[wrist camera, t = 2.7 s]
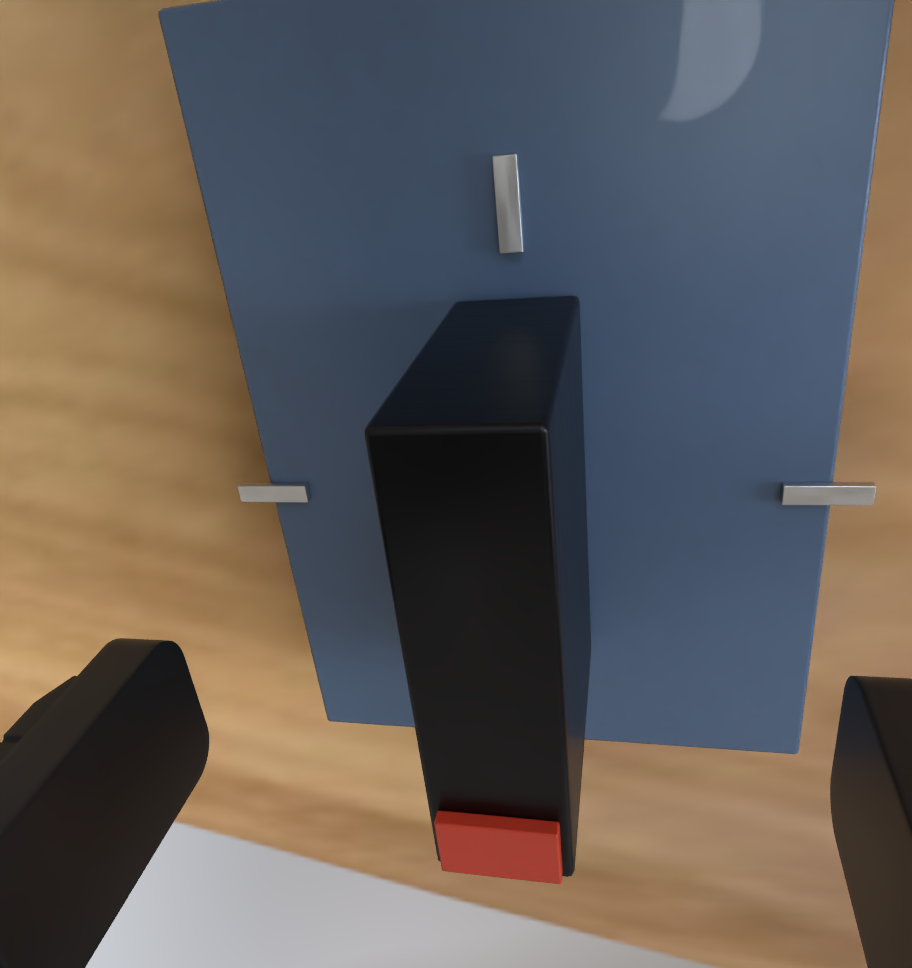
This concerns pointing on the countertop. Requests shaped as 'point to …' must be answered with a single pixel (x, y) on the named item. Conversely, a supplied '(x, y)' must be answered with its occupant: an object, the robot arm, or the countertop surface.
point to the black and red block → (492, 578)
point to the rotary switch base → (550, 273)
